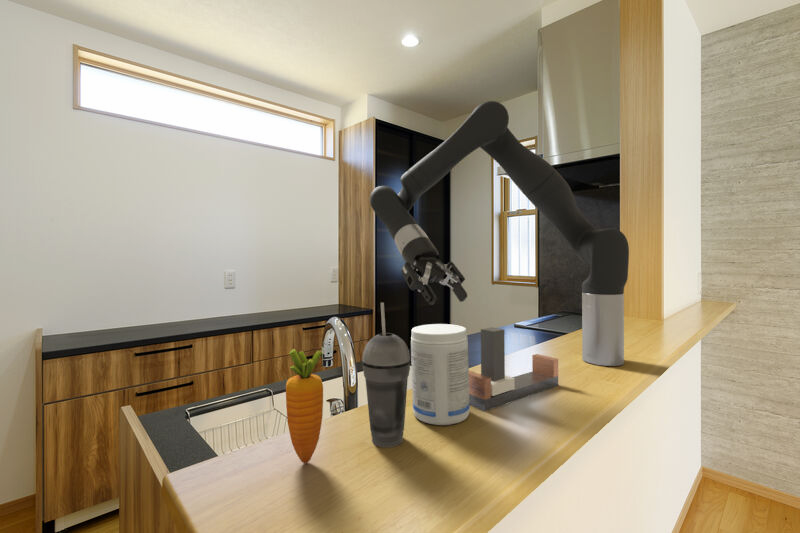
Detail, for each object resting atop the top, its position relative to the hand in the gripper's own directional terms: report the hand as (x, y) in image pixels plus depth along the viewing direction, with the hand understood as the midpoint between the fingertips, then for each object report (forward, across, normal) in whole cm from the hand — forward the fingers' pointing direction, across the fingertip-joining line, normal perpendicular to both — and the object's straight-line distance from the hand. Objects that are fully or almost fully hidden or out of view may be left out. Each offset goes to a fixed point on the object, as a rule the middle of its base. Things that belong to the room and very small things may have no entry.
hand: (449, 300), depth 78 cm
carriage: (+19, 0, +3) cm, 19 cm away
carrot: (+21, -36, +4) cm, 42 cm away
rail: (+21, +6, +4) cm, 22 cm away
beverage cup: (+22, -24, +4) cm, 32 cm away
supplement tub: (+20, -12, +5) cm, 24 cm away
